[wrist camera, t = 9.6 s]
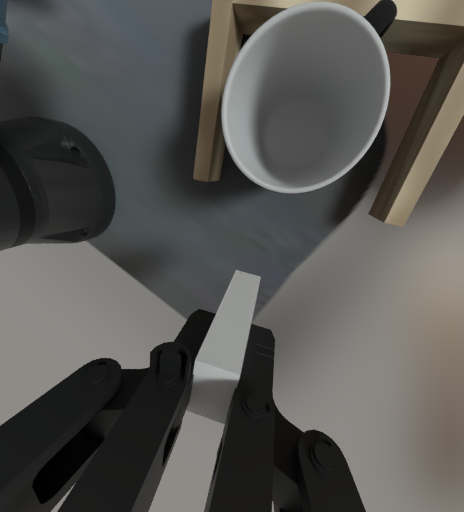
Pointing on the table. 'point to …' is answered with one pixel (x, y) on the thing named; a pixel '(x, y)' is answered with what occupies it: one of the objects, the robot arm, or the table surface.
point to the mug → (307, 95)
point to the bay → (394, 40)
